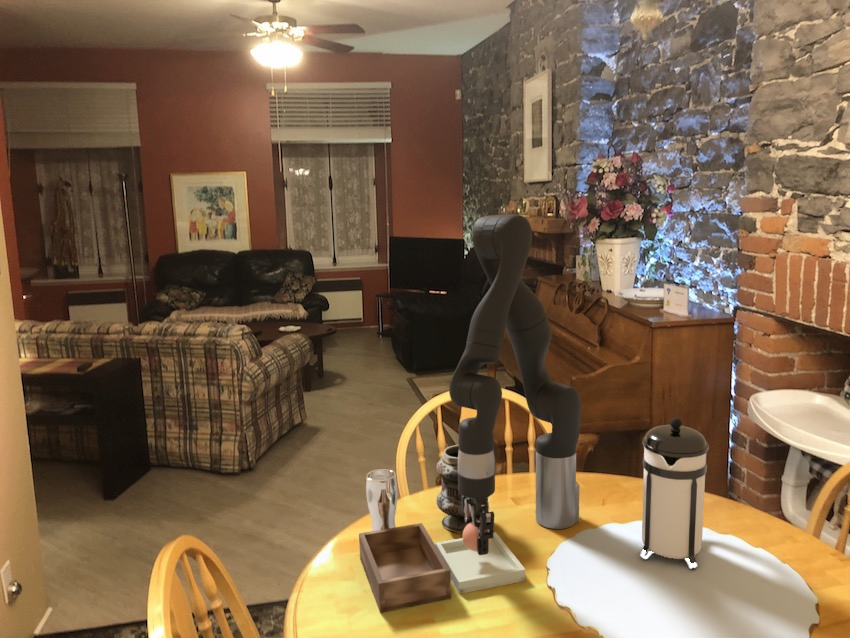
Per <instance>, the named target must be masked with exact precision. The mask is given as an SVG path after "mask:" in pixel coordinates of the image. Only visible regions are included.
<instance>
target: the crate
mask: <svg viewBox="0 0 850 638" xmlns="http://www.w3.org/2000/svg"><path fill="white" fill-rule="evenodd" d="M358 539H359V540H358V541H359V560H360V562H361V565H362V568H363V570H364V574H365V576H366V579H367V581H368V584H369V587H370V589H371V592H372V594H373V597H374V600H375V603H376V606H377V608H378V612H379V613H381V614H382V613H386V612H392V611H395V610H401V609H405V608H407V609H408V608H411V607H416V606H421V605H422V606H423V605H426V604H431V603H437V602H443V601H445V600H451V599H452V587H451V586H452V584H451V583H452V581H451V578H450V569H449V567H448V566H447V564H446V562H445V561H444V559H443V557H442V556H441V554H440V552H439V551H438V549H437V547H436V546H435V543H434V540H433V538H432V537H431V535H430V533H429V532H428V530H427V529H426V527H425V525H424V523H423V522H420V523H413V524H408V525H403V526H396V527H395V528H389V529H383V530H377V531H371V530H370V531H367V532H365V531H364V532H359V533H358Z"/></svg>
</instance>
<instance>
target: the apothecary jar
mask: <svg viewBox="0 0 850 638" xmlns="http://www.w3.org/2000/svg"><path fill="white" fill-rule="evenodd" d="M458 453H459V444H455V445H451V446H447V447H446V448H445V449H444V450H443V454H442V457H441V458H440V459H439V460H438V462H437V463H436V473H437V474H438V475H439V476H440V477H441V490H440V491H439V493H438V494H437V496H436V499H435V501H436V503H435V504H436V506H437V507H438V509H439V510H440V511H441V512H442V513H444V514H446V515H445V516H444V517H443V518H442V520H441V525H442V527H443V528H444V529H445V530H448V531H449V532H453V533H459V534H460V533H462V534H463V531H464V528H465V527H466V523H467V522H465V516H463V515H462V504H461V494H460V493H459V491H458ZM487 501H488V502H489V497H488V498H487ZM476 521H480V520H476Z"/></svg>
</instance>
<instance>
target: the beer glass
mask: <svg viewBox="0 0 850 638" xmlns="http://www.w3.org/2000/svg"><path fill="white" fill-rule="evenodd" d="M396 476H397V474H396V472H395V471H394V470H391V469H386V468H379V469H378V468H377V469H373V470H371V471H369V472H368V473H366V486H365V492H366V493H365V495H366V500H367V501H366V502H367V507H368V511H369V514H370V515H369V516H370V519H371V520H370V521H371V528H370V529H371V530H370V532H371V531H377V530H383V529H389V528H395V527H397V526H396V520H395V519H396V512H397V505H398V484H397V477H396Z"/></svg>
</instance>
